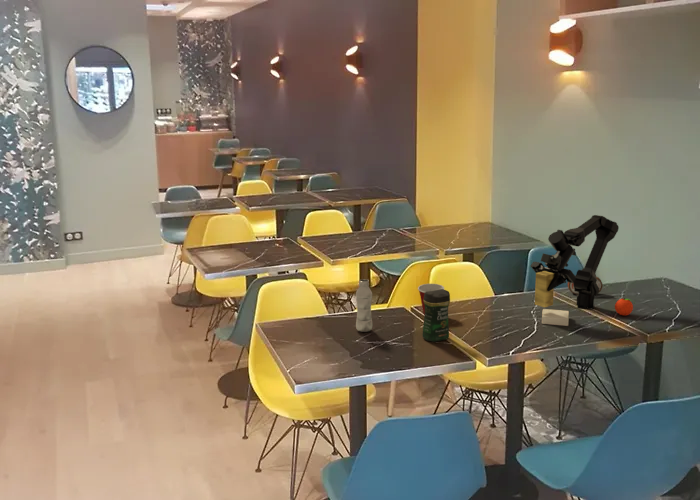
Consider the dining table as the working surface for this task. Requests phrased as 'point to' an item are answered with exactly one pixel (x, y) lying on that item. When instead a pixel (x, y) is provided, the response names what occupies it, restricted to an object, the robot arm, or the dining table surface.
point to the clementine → (624, 307)
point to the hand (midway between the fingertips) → (542, 289)
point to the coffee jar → (436, 315)
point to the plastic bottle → (364, 306)
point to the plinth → (555, 317)
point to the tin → (571, 288)
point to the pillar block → (543, 289)
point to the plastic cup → (426, 288)
